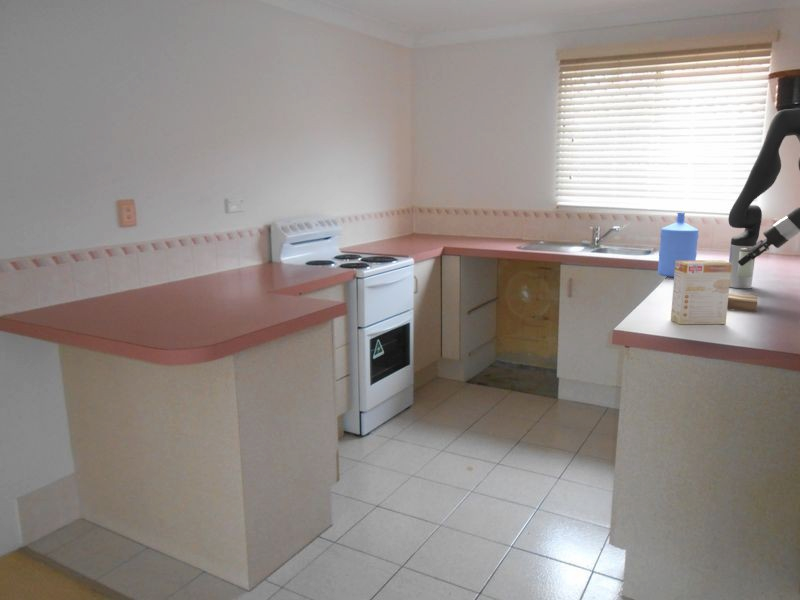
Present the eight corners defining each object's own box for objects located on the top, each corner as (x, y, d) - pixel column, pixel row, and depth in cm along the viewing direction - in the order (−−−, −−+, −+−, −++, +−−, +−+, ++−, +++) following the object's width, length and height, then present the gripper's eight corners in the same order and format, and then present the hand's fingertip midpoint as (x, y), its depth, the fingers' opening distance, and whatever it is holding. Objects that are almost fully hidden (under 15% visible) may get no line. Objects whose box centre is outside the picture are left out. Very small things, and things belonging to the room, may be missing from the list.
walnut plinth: (725, 303, 237) (726, 292, 236) (756, 306, 232) (757, 295, 232) (723, 308, 229) (724, 297, 228) (755, 311, 224) (757, 300, 223)
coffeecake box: (715, 319, 213) (721, 259, 209) (726, 324, 206) (733, 263, 202) (669, 319, 212) (674, 259, 208) (679, 324, 205) (685, 263, 201)
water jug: (698, 278, 290) (704, 214, 284) (660, 277, 293) (665, 214, 287) (690, 273, 305) (695, 212, 299) (654, 271, 308) (659, 211, 302)
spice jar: (737, 274, 244) (740, 247, 242) (751, 275, 242) (755, 248, 240) (736, 276, 240) (739, 249, 238) (751, 277, 238) (754, 250, 235)
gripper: (774, 222, 239) (733, 252, 248) (774, 225, 227) (731, 257, 235) (788, 237, 238) (747, 267, 246) (790, 242, 226) (746, 273, 234)
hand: (740, 262), depth 241 cm, fingers closed on spice jar, 4 cm apart
